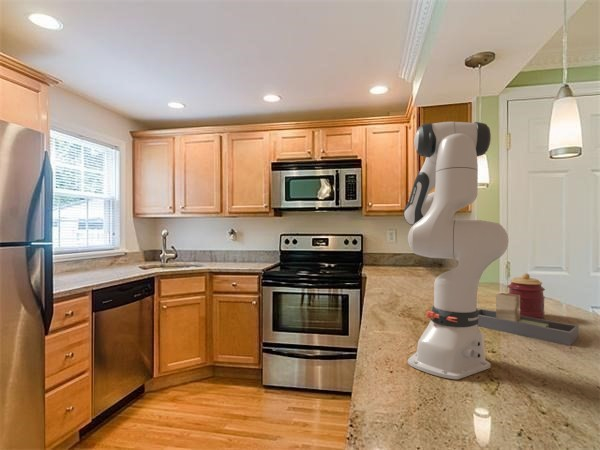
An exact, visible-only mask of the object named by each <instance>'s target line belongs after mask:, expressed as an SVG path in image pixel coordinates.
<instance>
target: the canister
mask: <svg viewBox="0 0 600 450" xmlns="http://www.w3.org/2000/svg"><path fill="white" fill-rule="evenodd" d="M509 282H510V284H509V285H507V288H508V292H507V294H514V295H520V315H521V316H527V317H532V318H538V319H544V318H545V316H546V315H545V298H546V297H545V296H544V292H545V290H546V289H545V287H543V286H542V285H543V282H542V281H541V280H539V279H537V278H531V277H530V274H529V273H527V272H526V273H525V272H524V273H523V274H522V275H521V277H517V276H516V277H514V278H512V279H510V280H509Z"/></svg>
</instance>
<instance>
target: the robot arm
mask: <svg viewBox="0 0 600 450" xmlns="http://www.w3.org/2000/svg"><path fill="white" fill-rule="evenodd" d="M491 141H492V132H491V130H490V127H489V126H488V124H487V123H483V122H480V121H474V122H466V121H465V122H464V121H443V122H441V121H440V122H435V123H431V122H428V123H423V124H421V125H420V126H418V128H417V130H416V133H415V135H414V138H413V143H414V144H413V145H414V148H415V150H416V153H417V154H418V155H419V156H421V157H425V160H424V163H423V164H422V167H421V169H420V171H419V172H418V174H417V175H416V177H415V179H414V182H413V186H412V188H411V192H410V195H409V198H408V202H407V204H406V205H405V207H404V210H403V217H404V220H405V222H406V223H407V224H408V225H410V226H411V227H410V228H409V231H408V234H407V243H408V245H409V248H410V250H411V251H412V253H413V254H415V255H418V256H421V257H425V258H431V259H445V260H447V259H451V260H456V261H458V263H457V266H456V267H454V268H452V269H449V270H447V271H445V272H442V273H440V274H439V275H438V276H437V277H435V279H434V282H433V305H432V308H431V310H428V311H426V315H425V316H426V318H427V319H430V321H429V323H428V325H427V327H425V329H424V331H423V333H422V334H421V336H420V338H419V339H418V342H417V348H416V352H415V353H414V354H413V355H411V356H410V357H409V358H408V359H407V364H408V365H409V366H411V367H412V368H415V369H417V370H418V371H422V372H424V373H427V374H429V375H432V376H436V377H440V378H445V379H450V380H460V379H462V378H463V379H464V378H466V377H468V376H471V375H474V374H478V373H480V372H483V371H485V370H488V369H491V363H490V362H489V361H487V360H486V353H485V352H486V351H485V338H484V337H485V336H484V334H483V332H482V331H481V330H480V328H479V326H477V324H478V318H479V314H478V310H477V309H478V308H477V303H478V302H477V301H478V289H479V283H480V280H481V277H482V276H483V274H484V271H486V269H487V268H488V267H489V266H490V265H492V263H493V262H495V261H497V260H498V259H500V258H501V257H502V256H503V255H504V254H505V253H506V251H507V249H508V246H509V235H508V233H507V231H506V228H505V227H503V225H502V224H500V223H498V222H494V221H487V220H481V219H474V220H473V219H472V220H471V219H470V220H468V219H466V220H464V219H463V220H462V219H460V220H459V219H458V220H456V219H453V218H454V215H455V213H457V212H458V211H459V210H462V209H464V208H467V207H468V206H470V205H471V204H473V203H474V202H475V200H476V199H477V198H478V192H479V191H478V186H479V185H478V183H479V182H478V179H479V177H478V175H479V173H478V171H479V170H478V167H479V165H478V157H481V156H483V155H485V154H486V153H487V152H488V150H489V148H490V145H491ZM433 189H434V191H432V190H433ZM431 191H432V192H431Z"/></svg>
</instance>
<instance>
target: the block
mask: <svg viewBox="0 0 600 450" xmlns="http://www.w3.org/2000/svg"><path fill="white" fill-rule="evenodd" d="M495 311H496V318H500V319H505V320H510V321H516V322H517V321H519V320H520V295H514V294H508V292H507V293H505V292H500V293H497V294H496V295H495Z"/></svg>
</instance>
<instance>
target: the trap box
mask: <svg viewBox="0 0 600 450" xmlns="http://www.w3.org/2000/svg"><path fill="white" fill-rule="evenodd" d="M477 310H478V314H479V318H478V324H477V326H478V327H480V328H484V329H491V330H495V331H499V332H503V333H508V334H514V335H518V336H523V337H528V338H533V339H537V340H542V341H547V342H552V343H556V344H560V345H565V346H571V345H573V344H574V343H575V342H576V341H577V340H578V338H579V329H580V328H579V327H580V325H577V324H572V323H566V322H560V321H555V320H549V319H544V318H543V319H538V318H532V317H527V316H521V315H520V320H519V321H517V322H516V321H510V320H505V319H500V318H496V310H492V309H486V308H485V309H484V308H482V307H481V308H477Z"/></svg>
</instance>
